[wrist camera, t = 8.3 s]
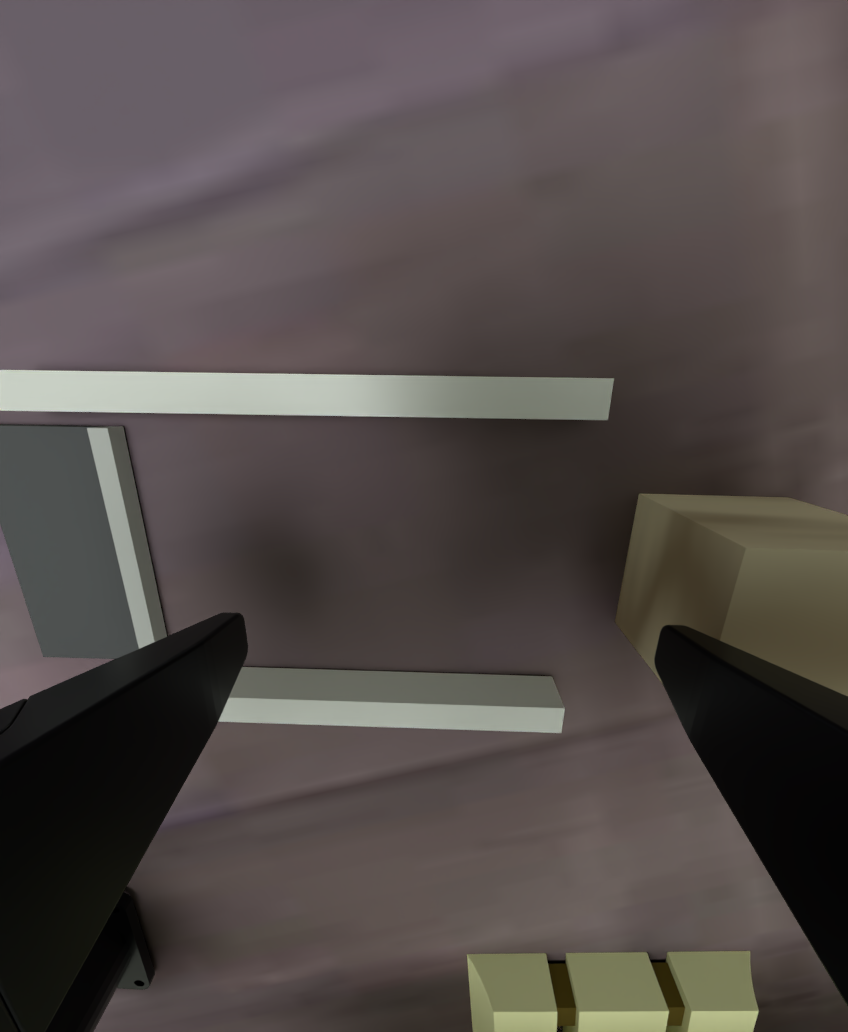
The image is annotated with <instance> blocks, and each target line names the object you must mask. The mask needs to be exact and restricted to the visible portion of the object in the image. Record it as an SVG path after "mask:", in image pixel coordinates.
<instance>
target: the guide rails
mask: <svg viewBox="0 0 848 1032" xmlns="http://www.w3.org/2000/svg"><path fill="white" fill-rule="evenodd" d="M613 382H614V378H550V377H478V376H405V375H332V374H259V373H186V372H113V371H40V370H0V411H62V412H124V413H186V414H249V415H311V416H373V417H436V418H498V419H560V420H608V416H609V409H610V403H611V396H612V389H613ZM564 711H565V707H564V705H563V702H562V700H561V697H560V695H559V692H558V690H557V688H556V685H555V683H554V680H553V678H552V676H523V675H491V674H458V673H425V672H392V671H359V670H326V669H293V668H260V667H242V668H241V670H240V673H239V675H238V677H237V680H236V682H235V684H234V687H233V689H232V691H231V694H230V696H229V698H228V701H227V703H226V705H225V708H224V710H223V712H222V714H221V716H220V719H219V721H218V722H247V723H277V724H306V725H336V726H366V727H396V728H426V729H456V730H486V731H516V732H545V733H561V732H562V725H563V718H564Z"/></svg>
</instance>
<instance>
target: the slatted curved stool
mask: <svg viewBox="0 0 848 1032" xmlns="http://www.w3.org/2000/svg"><path fill="white" fill-rule="evenodd" d="M467 961H468V974H469V988H470V1001H471V1015H472V1028H473V1032H557V1026H563V1030H562V1032H753V1030H754V1026H755V1023H756V1019H757V1016H758V1012H759V1010H758V1006H757V1002H756V999H755V995H754V990H753V984H752V978H751V967H750V951H705V952H667V957H666V963H651V962H650V959H649V957H648V954H647V952H615V953H566V962H565V964H548V961H547V956H546V953H525V954H467Z"/></svg>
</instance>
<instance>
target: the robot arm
mask: <svg viewBox="0 0 848 1032" xmlns="http://www.w3.org/2000/svg"><path fill="white" fill-rule="evenodd" d="M247 652H248V643H247V636H246V628H245V621H244V618H243V616H242V615H241V614H240V613H220V614H218V615H215V616H213V617H211V618H208V619H206V620H204V621H202V622H199V623H197V624H195V625H192V626H190V627H188V628H186V629H183V630H181V631H179V632H176V633H174V634H172V635H169V636H167V637H165V638H163V639H160V640H158V641H156V642H153V643H151V644H149V645H147V646H144V647H142V648H140V649H137V650H135V651H133V652H130V653H128V654H126V655H124V656H121V657H119V658H117V659H114V660H112V661H110V662H108V663H105V664H103V665H101V666H98V667H96V668H94V669H91V670H89V671H87V672H85V673H82V674H80V675H78V676H75V677H73V678H71V679H68V680H66V681H64V682H62V683H59V684H57V685H55V686H52V687H50V688H48V689H46V690H43V691H41V692H39V693H36V694H34V695H32V696H30V697H29V698H28V700H27V699H22V700H20V701H18V702H15V703H13V704H11V705H9V706H6V707H4V708H2V709H0V1032H94V1030H95V1028H96V1026H97V1024H98V1022H99V1020H100V1019H101V1017H102V1015H103V1013H104V1011H105V1009H106V1007H107V1005H108V1004H109V1002H110V1000H111V998H112V996H113V994H114V992H115V990H116V989H117V988H123V989H147V988H148V987H149V986H150V984H151V982H152V979H153V977H154V975H155V972H154V968H153V965H152V962H151V959H150V955H149V952H148V949H147V946H146V943H145V939H144V936H143V933H142V930H141V927H140V923H139V920H138V917H137V914H136V911H135V907H134V904H133V901H132V898H131V897H130V896H129V895H128V894H126V893H124V890H125V888H126V886H127V884H128V883H129V881H130V879H131V877H132V875H133V874H134V872H135V870H136V868H137V867H138V865H139V863H140V861H141V859H142V858H143V856H144V854H145V852H146V850H147V849H148V847H149V845H150V843H151V841H152V840H153V838H154V836H155V834H156V832H157V831H158V829H159V827H160V825H161V824H162V822H163V820H164V818H165V816H166V815H167V813H168V811H169V809H170V807H171V806H172V804H173V802H174V800H175V798H176V797H177V795H178V793H179V791H180V790H181V788H182V786H183V784H184V782H185V781H186V779H187V777H188V775H189V773H190V772H191V770H192V768H193V766H194V764H195V763H196V761H197V759H198V757H199V756H200V754H201V752H202V750H203V748H204V747H205V745H206V743H207V741H208V739H209V738H210V736H211V734H212V732H213V730H214V728H215V727H216V725H217V723H218V721H219V719H220V716H221V714H222V712H223V710H224V708H225V705H226V703H227V701H228V698H229V696H230V694H231V691H232V689H233V687H234V684H235V682H236V680H237V677H238V675H239V673H240V670H241V668H242V666H243V664H244V661H245V659H246V656H247ZM654 663H655V668H656V670H657V673H658V675H659V677H660V679H661V681H662V683H663V685H664V687H665V690H666V692H667V694H668V696H669V698H670V700H671V702H672V704H673V707H674V709H675V711H676V713H677V715H678V717H679V719H680V721H681V724H682V726H683V728H684V730H685V732H686V734H687V735H688V737H689V739H690V741H691V743H692V745H693V746H694V748H695V750H696V752H697V753H698V755H699V757H700V758H701V760H702V762H703V764H704V765H705V767H706V769H707V770H708V772H709V774H710V775H711V777H712V779H713V780H714V782H715V784H716V785H717V787H718V789H719V790H720V792H721V794H722V796H723V797H724V799H725V801H726V802H727V804H728V806H729V807H730V809H731V811H732V812H733V814H734V816H735V817H736V819H737V821H738V822H739V824H740V826H741V828H742V829H743V831H744V833H745V834H746V836H747V838H748V839H749V841H750V843H751V844H752V846H753V848H754V849H755V851H756V853H757V854H758V856H759V858H760V860H761V861H762V863H763V865H764V866H765V868H766V870H767V871H768V873H769V875H770V876H771V878H772V880H773V881H774V883H775V885H776V886H777V888H778V890H779V892H780V893H781V895H782V897H783V898H784V900H785V902H786V903H787V905H788V907H789V908H790V910H791V912H792V913H793V915H794V917H795V919H796V920H797V922H798V924H799V925H800V927H801V929H802V930H803V932H804V934H805V935H806V937H807V939H808V940H809V942H810V944H811V945H812V947H813V949H814V951H815V952H816V954H817V956H818V957H819V959H820V961H821V962H822V964H823V966H824V967H825V969H826V971H827V972H828V974H829V976H830V977H831V979H832V981H833V983H834V984H835V986H836V988H837V989H838V991H839V993H840V994H841V996H842V998H843V999H844V1001H845V1003H846V1004H847V1006H848V696H846V695H843V694H841V693H839V692H837V691H834V690H832V689H830V688H827V687H825V686H823V685H821V684H818V683H816V682H814V681H811V680H809V679H807V678H805V677H802V676H800V675H798V674H795V673H793V672H791V671H789V670H786V669H784V668H782V667H779V666H777V665H775V664H773V663H770V662H768V661H766V660H763V659H761V658H759V657H757V656H754V655H752V654H750V653H747V652H745V651H743V650H741V649H738V648H736V647H734V646H731V645H729V644H727V643H725V642H722V641H720V640H718V639H715V638H713V637H711V636H708V635H706V634H704V633H702V632H699V631H697V630H695V629H692V628H690V627H688V626H685V625H665V626H663V627H662V629H661V631H660V635H659V639H658V644H657V648H656V653H655V658H654Z"/></svg>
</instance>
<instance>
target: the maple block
mask: <svg viewBox="0 0 848 1032" xmlns="http://www.w3.org/2000/svg"><path fill="white" fill-rule="evenodd" d="M615 623H616V624H617V626H618V627H619V628H620V630H621V631H622V632H623V633H624V635H625V636H626V637H627V639H628V640H629V641H630V643H631V644H632V645H633V646H634V648H635V649H636V650H637V652H638V653H639V654H640V656H641V657H642V658H643V659H644V661H645V662H646V663H647V665H648V666H649V667H650V669H651V670H652V671H653V672H654V674H655V675H656V676H657V678H658V679H659V680H660V682H661V683H662V681H661V679H660V677H659V675H658V673H657V670H656V668H655V663H654V658H655V653H656V648H657V644H658V639H659V635H660V631H661V629H662V627H663V626H665V625H685V626H688V627H690V628H692V629H695V630H697V631H699V632H702V633H704V634H706V635H708V636H711V637H713V638H715V639H718V640H720V641H722V642H725V643H727V644H729V645H731V646H734V647H736V648H738V649H741V650H743V651H745V652H747V653H750V654H752V655H754V656H757V657H759V658H761V659H763V660H766V661H768V662H770V663H773V664H775V665H777V666H779V667H782V668H784V669H786V670H789V671H791V672H793V673H795V674H798V675H800V676H802V677H805V678H807V679H809V680H811V681H814V682H816V683H818V684H821V685H823V686H825V687H827V688H830V689H832V690H834V691H837V692H839V693H841V694H843V695H846V696H848V515H845V514H842V513H839V512H835V511H832V510H829V509H825V508H822V507H819V506H815V505H812V504H809V503H806V502H802V501H799V500H796V499H792V498H789V497H753V496H715V495H677V494H640V493H639V496H638V501H637V507H636V512H635V517H634V523H633V528H632V533H631V539H630V544H629V549H628V554H627V560H626V565H625V570H624V576H623V581H622V586H621V592H620V597H619V602H618V607H617V613H616V618H615ZM662 684H663V683H662Z"/></svg>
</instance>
